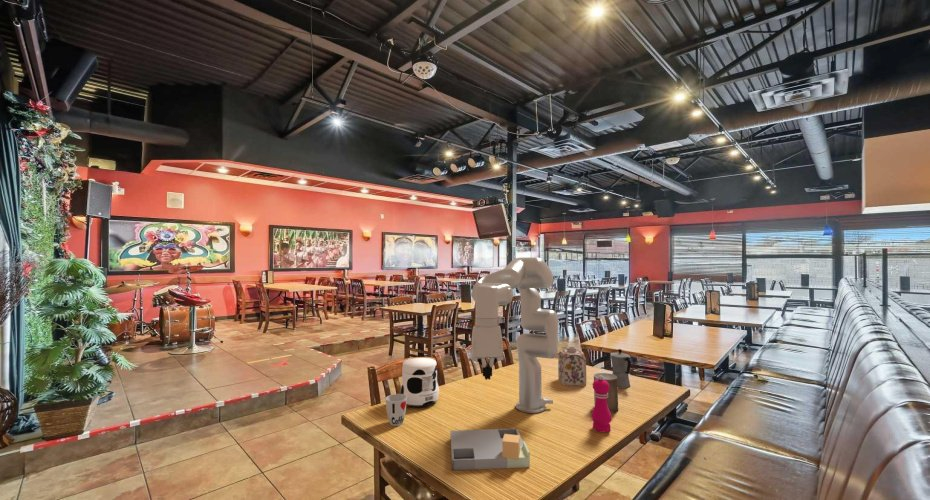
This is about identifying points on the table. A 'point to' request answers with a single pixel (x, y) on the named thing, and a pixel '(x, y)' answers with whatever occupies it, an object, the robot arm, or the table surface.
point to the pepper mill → (601, 406)
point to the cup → (396, 408)
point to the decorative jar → (572, 367)
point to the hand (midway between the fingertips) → (487, 378)
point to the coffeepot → (621, 368)
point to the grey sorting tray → (484, 450)
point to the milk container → (420, 381)
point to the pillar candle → (610, 390)
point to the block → (511, 446)
